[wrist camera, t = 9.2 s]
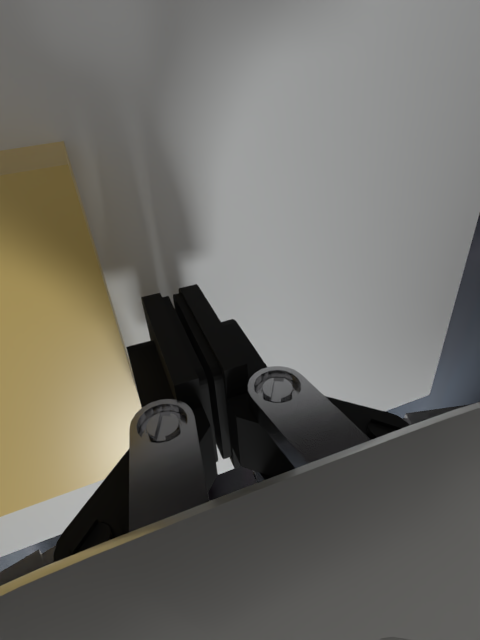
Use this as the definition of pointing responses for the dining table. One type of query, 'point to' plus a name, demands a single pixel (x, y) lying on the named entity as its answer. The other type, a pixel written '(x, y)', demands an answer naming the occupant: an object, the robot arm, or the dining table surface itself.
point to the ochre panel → (55, 338)
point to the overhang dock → (263, 174)
